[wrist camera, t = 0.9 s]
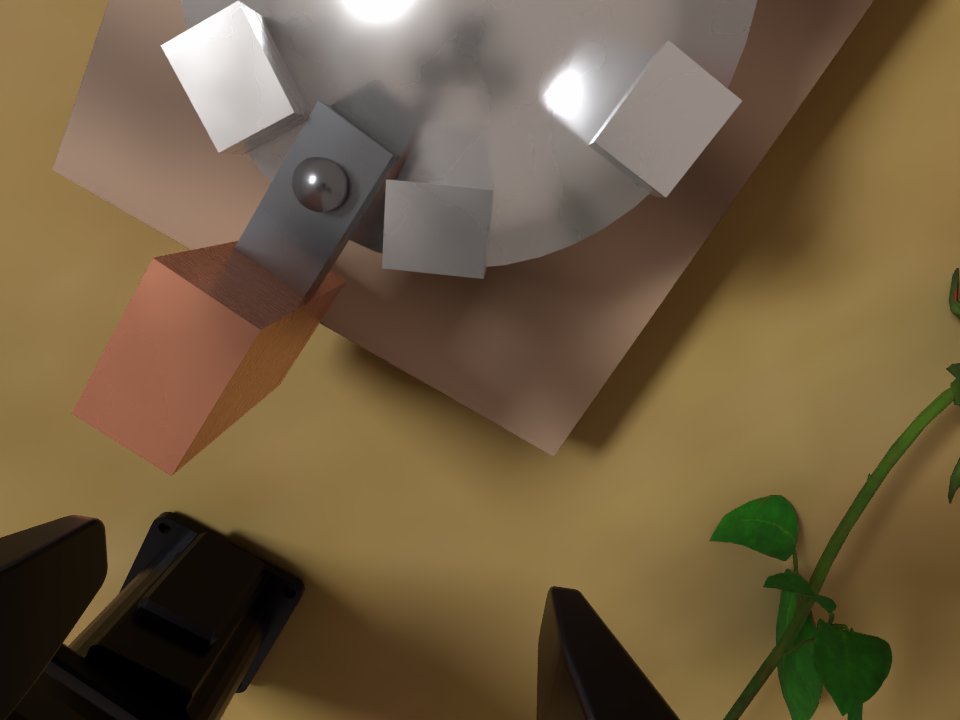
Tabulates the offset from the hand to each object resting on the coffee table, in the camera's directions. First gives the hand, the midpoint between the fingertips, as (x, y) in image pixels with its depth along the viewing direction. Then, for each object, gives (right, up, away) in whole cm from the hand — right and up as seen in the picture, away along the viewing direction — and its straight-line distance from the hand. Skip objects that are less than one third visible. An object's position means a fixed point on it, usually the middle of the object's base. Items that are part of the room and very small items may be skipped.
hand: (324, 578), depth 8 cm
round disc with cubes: (0, +10, +8) cm, 13 cm away
